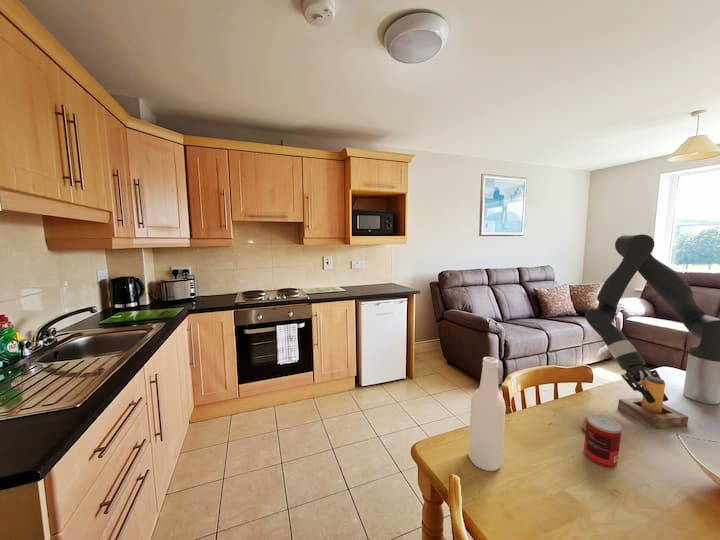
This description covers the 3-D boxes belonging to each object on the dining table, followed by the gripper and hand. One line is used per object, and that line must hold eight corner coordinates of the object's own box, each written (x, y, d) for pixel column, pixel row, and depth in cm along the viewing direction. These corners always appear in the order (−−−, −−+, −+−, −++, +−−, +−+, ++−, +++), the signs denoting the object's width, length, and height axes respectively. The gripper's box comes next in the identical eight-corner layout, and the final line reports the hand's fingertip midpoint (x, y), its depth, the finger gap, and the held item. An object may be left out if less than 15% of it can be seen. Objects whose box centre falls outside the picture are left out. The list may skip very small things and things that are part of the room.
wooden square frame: (648, 406, 110) (649, 397, 110) (687, 426, 98) (688, 416, 98) (617, 407, 109) (618, 399, 108) (652, 428, 97) (654, 419, 96)
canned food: (609, 451, 86) (613, 416, 85) (623, 471, 79) (628, 433, 78) (578, 445, 89) (582, 411, 88) (589, 464, 81) (593, 427, 80)
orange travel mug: (649, 408, 106) (653, 375, 105) (664, 416, 101) (669, 382, 100) (637, 409, 106) (641, 376, 104) (652, 417, 101) (656, 383, 99)
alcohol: (489, 477, 77) (495, 369, 73) (461, 456, 84) (466, 357, 81) (508, 464, 81) (515, 361, 78) (480, 445, 89) (486, 350, 85)
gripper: (618, 352, 107) (652, 401, 97) (649, 349, 110) (685, 396, 99) (602, 359, 113) (633, 406, 102) (632, 357, 115) (665, 402, 105)
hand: (658, 401), depth 101 cm, fingers closed on orange travel mug, 5 cm apart
